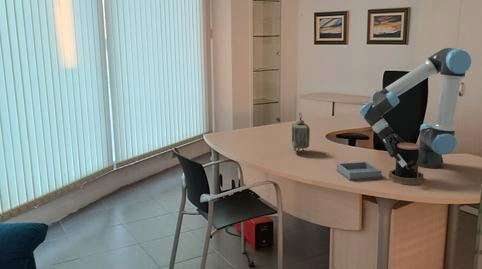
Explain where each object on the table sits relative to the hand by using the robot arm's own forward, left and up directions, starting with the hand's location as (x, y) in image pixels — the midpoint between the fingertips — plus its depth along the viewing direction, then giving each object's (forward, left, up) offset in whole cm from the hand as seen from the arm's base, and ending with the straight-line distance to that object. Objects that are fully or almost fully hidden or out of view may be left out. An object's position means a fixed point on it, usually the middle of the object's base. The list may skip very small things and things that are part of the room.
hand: (409, 162), depth 240 cm
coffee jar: (+1, -1, -9) cm, 9 cm away
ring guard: (+1, -1, -9) cm, 9 cm away
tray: (+21, -14, -9) cm, 27 cm away
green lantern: (+37, -62, -9) cm, 73 cm away
